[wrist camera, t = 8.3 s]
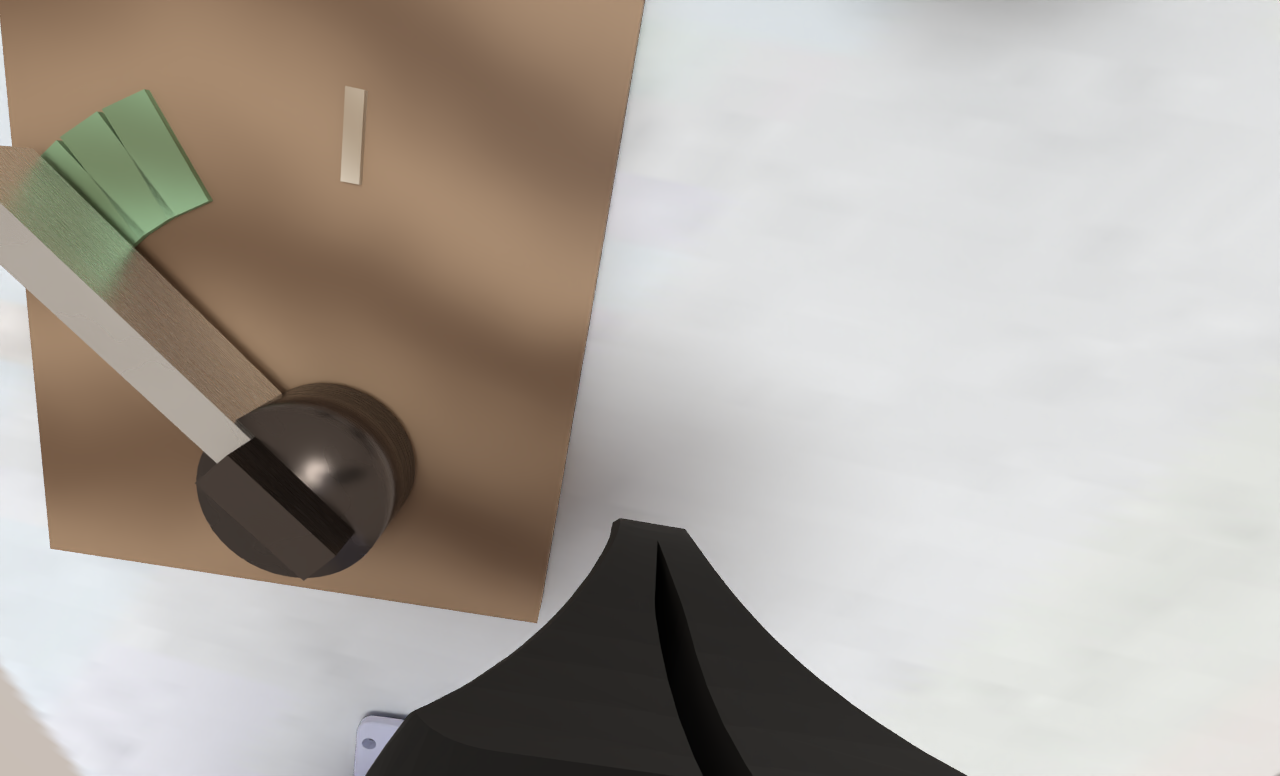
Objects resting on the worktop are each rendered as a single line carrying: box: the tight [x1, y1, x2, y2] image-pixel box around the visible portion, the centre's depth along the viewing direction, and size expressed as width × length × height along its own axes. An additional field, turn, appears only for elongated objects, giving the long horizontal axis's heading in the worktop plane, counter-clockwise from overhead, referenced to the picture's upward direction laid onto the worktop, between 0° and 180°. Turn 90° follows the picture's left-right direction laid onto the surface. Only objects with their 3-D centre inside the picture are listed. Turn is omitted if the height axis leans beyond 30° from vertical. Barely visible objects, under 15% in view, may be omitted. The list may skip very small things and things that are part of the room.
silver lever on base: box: [0, 146, 415, 581], centre depth 17 cm, size 14×5×4 cm, turn 38°
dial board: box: [0, 0, 645, 623], centre depth 19 cm, size 20×16×1 cm
